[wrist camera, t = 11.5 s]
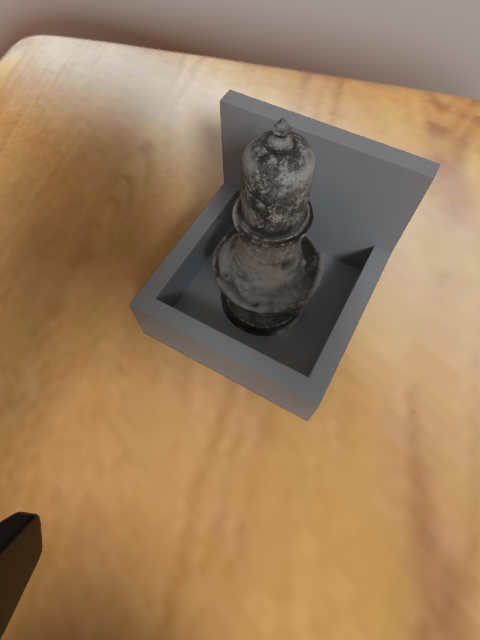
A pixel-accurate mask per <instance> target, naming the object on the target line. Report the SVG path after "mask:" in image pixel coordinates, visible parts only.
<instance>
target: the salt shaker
mask: <svg viewBox="0 0 480 640" xmlns="http://www.w3.org/2000/svg"><path fill="white" fill-rule="evenodd" d="M315 168H316V167H315V153H314V151H313V148H312V147H311V145H310V144H309V143H308V142H307V140H306V139H305V138H304V137H302V136H301V135H300V134H297V133H295V132H293V131H292V127H291V126H290V125H289V123H288V122H287V121H286V120H285V118H281V119H280V120H279V121H278V122H277V123H276V124H274V125H273V126H272V130H269V131H266V132H263V133H261V134H259V135H258V136H256V137H255V138H254V139H253V140H252V141H251V142H250V143H249V144H248V145H247V146H246V148H245V150H244V152H243V155H242V159H241V195H240V196H239V198H238V199H237V200H236V202H235V204H234V207H233V212H232V219H233V223H234V226H235V228H234V229H233V230H231V231H230V232H228V233H227V234H226V235H225V236H224V237H223V238H222V240H221V241H220V242H219V243H218V245H217V247H216V249H215V252H214V254H213V261H212V270H213V275H214V280H215V282H216V284H217V285H218V287H219V289H220V291H221V304H222V308H223V311H224V313H225V314H226V316H227V318H228V319H229V320H230V321H231V322H232V323H233V324H234V325H235V326H236V327H237V328H239V329H241V330H242V331H244V332H246V333H250V334H253V335H256V336H272V335H278V334H281V333H283V332H285V331H288V330H290V329H291V328H292V327H294V326H295V325H296V324H297V323H298V322H299V321H300V319H301V318H302V316H303V315H304V313H305V310H306V306H307V303H308V299H309V298H310V297H312V296H313V294H314V293H315V291H316V290H317V288H318V287H319V285H320V282H321V278H322V275H323V259H322V256H321V254H320V251H319V248H318V247H317V245H316V244H315V243H314V241H313V240H312V239H311V238H310V237H309V236H308V235H307V232H308V231H309V230H310V228H311V225H312V222H313V219H314V217H313V208H312V205H311V203H310V201H309V196H310V191H311V186H312V182H313V177H314V173H315Z"/></svg>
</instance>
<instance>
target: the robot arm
mask: <svg viewBox="0 0 480 640" xmlns="http://www.w3.org/2000/svg"><path fill="white" fill-rule="evenodd" d="M41 552H42V534H41V522H40V517H39V516H38V515H37V514H34V513H27V512H17V513H15V514H13V515H11V516H9V517H8V518H6V519H5V520H3V521H1V522H0V639H1V637H2V635H3V633H4V631H5V629H6V627H7V625H8V623H9V621H10V619H11V617H12V615H13V613H14V610H15V608H16V606H17V604H18V602H19V600H20V598H21V596H22V594H23V592H24V590H25V588H26V585H27V583H28V581H29V579H30V577H31V575H32V573H33V571H34V569H35V567H36V565H37V563H38V560H39V558H40V555H41Z"/></svg>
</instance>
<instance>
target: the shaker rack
mask: <svg viewBox="0 0 480 640" xmlns="http://www.w3.org/2000/svg"><path fill="white" fill-rule="evenodd" d="M220 113H221V132H222V151H223V171H224V184H223V186H222V187H221V188H220V189H219V191H218V192H217V193H216V194H215V196H214V197H213V198H212V200H211V201H210V202H209V203H208V205H207V206H206V207H205V209H204V210H203V211H202V212H201V214H200V215H199V216H198V217H197V219H196V220H195V221H194V223H193V224H192V225H191V226H190V228H189V229H188V230H187V232H186V233H185V234H184V235H183V237H182V238H181V239H180V241H179V242H178V243H177V244H176V246H175V247H174V248H173V249H172V251H171V252H170V253H169V255H168V256H167V257H166V258H165V260H164V261H163V262H162V264H161V265H160V266H159V267H158V269H157V270H156V271H155V272H154V274H153V275H152V276H151V278H150V279H149V280H148V281H147V283H146V284H145V285H144V287H143V288H142V289H141V290H140V292H139V293H138V294H137V295H136V297H135V298H134V299H133V301H132V302H131V303H130V304H129V306H130V308H131V310H132V311H133V313H134V315H135V317H136V319H137V321H138V323H139V325H140V326H141V328H142V330H143V332H144V333H145V334H147V335H149V336H151V337H153V338H155V339H157V340H158V341H160V342H162V343H164V344H166V345H168V346H169V347H171V348H173V349H175V350H177V351H179V352H181V353H182V354H184V355H186V356H188V357H190V358H192V359H193V360H195V361H197V362H199V363H201V364H203V365H205V366H206V367H208V368H210V369H212V370H214V371H216V372H217V373H219V374H221V375H223V376H225V377H227V378H229V379H230V380H232V381H234V382H236V383H238V384H240V385H241V386H243V387H245V388H247V389H249V390H251V391H253V392H254V393H256V394H258V395H260V396H262V397H264V398H265V399H267V400H269V401H271V402H273V403H275V404H276V405H278V406H280V407H282V408H284V409H286V410H288V411H289V412H291V413H293V414H295V415H297V416H299V417H300V418H302V419H304V420H306V421H308V420H309V419H310V418H311V416H312V415H313V413H314V412H315V411H316V409H317V408H318V406H319V405H320V402H321V400H322V398H323V396H324V394H325V392H326V390H327V388H328V386H329V383H330V381H331V379H332V377H333V375H334V373H335V371H336V369H337V367H338V365H339V362H340V360H341V358H342V356H343V354H344V352H345V350H346V348H347V346H348V343H349V341H350V339H351V337H352V335H353V333H354V331H355V329H356V327H357V324H358V322H359V320H360V318H361V316H362V314H363V312H364V310H365V308H366V305H367V303H368V301H369V299H370V297H371V295H372V293H373V291H374V289H375V286H376V284H377V282H378V280H379V278H380V276H381V274H382V272H383V270H384V267H385V265H386V263H387V261H388V259H389V257H390V255H391V253H392V251H393V249H394V247H395V246H396V244H397V242H398V240H399V239H400V237H401V235H402V233H403V232H404V230H405V228H406V226H407V225H408V223H409V221H410V219H411V218H412V216H413V214H414V212H415V211H416V209H417V207H418V205H419V204H420V202H421V200H422V198H423V197H424V195H425V193H426V191H427V190H428V188H429V186H430V184H431V183H432V181H433V179H434V177H435V175H436V173H437V171H438V169H439V166H440V164H439V163H436V162H433V161H430V160H428V159H425V158H422V157H419V156H416V155H413V154H411V153H408V152H405V151H402V150H399V149H396V148H394V147H391V146H388V145H385V144H382V143H379V142H377V141H374V140H371V139H368V138H365V137H362V136H360V135H357V134H354V133H351V132H348V131H345V130H343V129H340V128H337V127H334V126H331V125H328V124H326V123H323V122H320V121H317V120H314V119H311V118H309V117H306V116H303V115H300V114H297V113H294V112H292V111H289V110H286V109H283V108H280V107H277V106H275V105H272V104H269V103H266V102H263V101H260V100H258V99H255V98H252V97H249V96H246V95H244V94H241V93H238V92H235V91H232V90H229V91H228V92H227V93H226V94H225V95H224V97H223V98H222V99H221V100H220ZM281 118H285V120H286V121H287V122H288V123H289V125H290V126H291V127H292V131H293V132H295V133H297V134H300V135H301V136H302V137H304V138H305V139H306V140H307V142H308V143H309V144H310V145H311V147H312V148H313V151H314V153H315V167H316V168H315V173H314V177H313V182H312V186H311V191H310V196H309V201H310V203H311V205H312V208H313V217H314V219H313V222H312V225H311V228H310V230H309V231H308V232H307V235H308V236H309V237H310V238H311V239H312V240H313V241H314V243H315V244H316V245H317V247H318V248H319V251H320V254H321V256H322V259H323V275H322V278H321V282H320V285H319V287H318V288H317V290H316V291H315V293H314V294H313V296H312V297H310V298H309V299H308V303H307V306H306V310H305V313H304V315H303V316H302V318H301V319H300V321H299V322H298V323H297V324H296V325H295V326H294V327H292V328H291V329H290V330H288V331H285V332H283V333H281V334H278V335H272V336H256V335H253V334H250V333H246V332H244V331H242V330H241V329H239V328H237V327H236V326H235V325H234V324H233V323H232V322H231V321H230V320H229V319H228V318H227V316H226V314H225V313H224V311H223V308H222V304H221V291H220V289H219V287H218V285H217V284H216V282H215V280H214V275H213V270H212V261H213V254H214V252H215V249H216V247H217V245H218V243H219V242H220V241H221V240H222V238H223V237H224V236H225V235H226V234H227V233H228V232H230V231H231V230H233V229H234V228H235V226H234V223H233V219H232V212H233V207H234V204H235V202H236V200H237V199H238V198H239V196H240V195H241V159H242V155H243V152H244V150H245V148H246V146H247V145H248V144H249V143H250V142H251V141H252V140H253V139H254V138H255V137H256V136H258V135H259V134H261V133H263V132H266V131H269V130H272V126H273V125H274V124H276V123H277V122H278V121H279V120H280V119H281Z"/></svg>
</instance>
